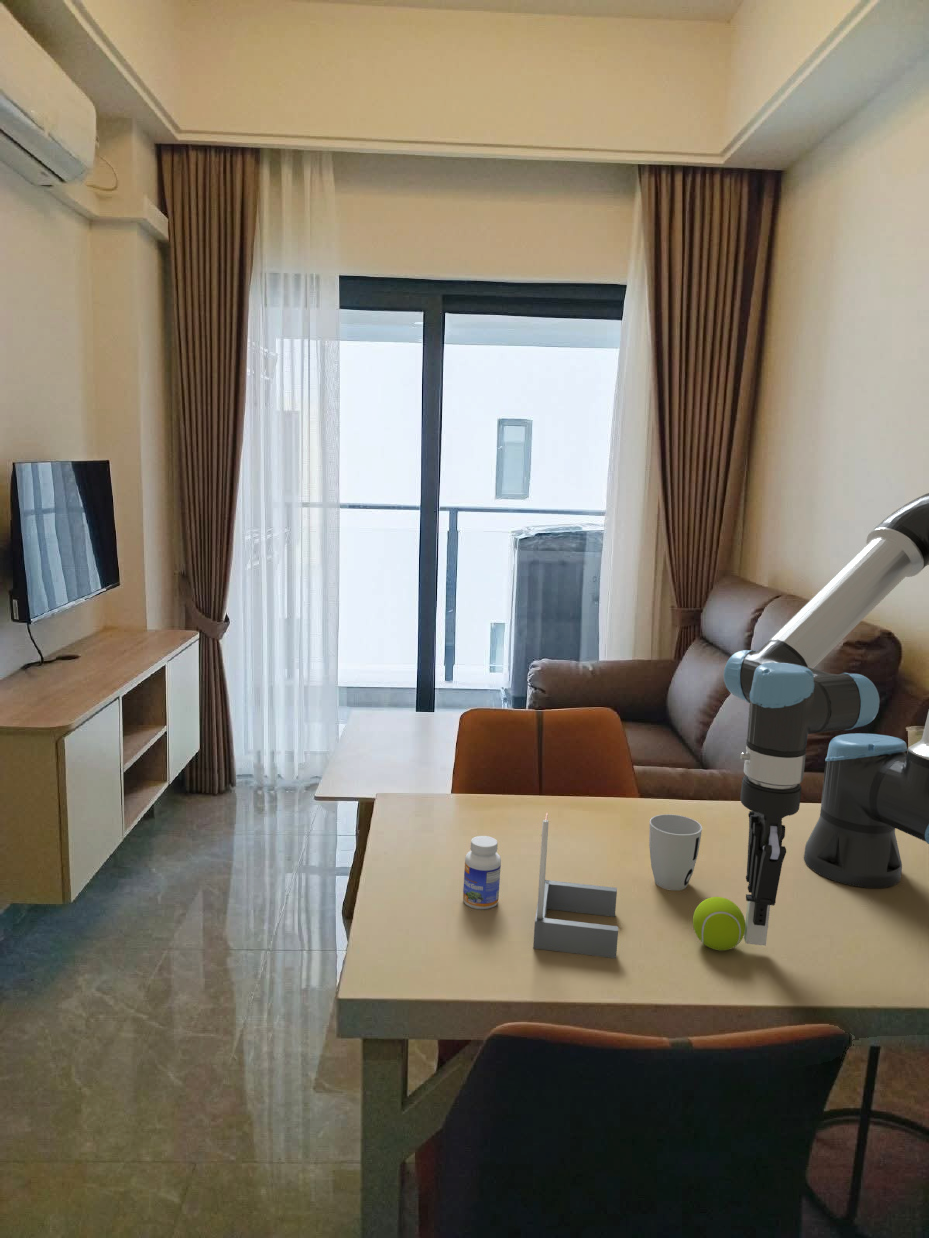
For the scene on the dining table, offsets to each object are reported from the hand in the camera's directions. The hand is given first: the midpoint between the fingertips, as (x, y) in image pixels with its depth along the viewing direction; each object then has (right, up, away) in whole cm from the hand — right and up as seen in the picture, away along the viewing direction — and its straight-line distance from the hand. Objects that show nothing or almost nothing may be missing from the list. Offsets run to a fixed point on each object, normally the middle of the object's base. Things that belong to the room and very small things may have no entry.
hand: (754, 941), depth 120 cm
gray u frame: (-24, 0, +4) cm, 24 cm away
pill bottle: (-38, +2, +11) cm, 39 cm away
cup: (-7, +2, +19) cm, 21 cm away
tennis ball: (-5, -1, +1) cm, 5 cm away
